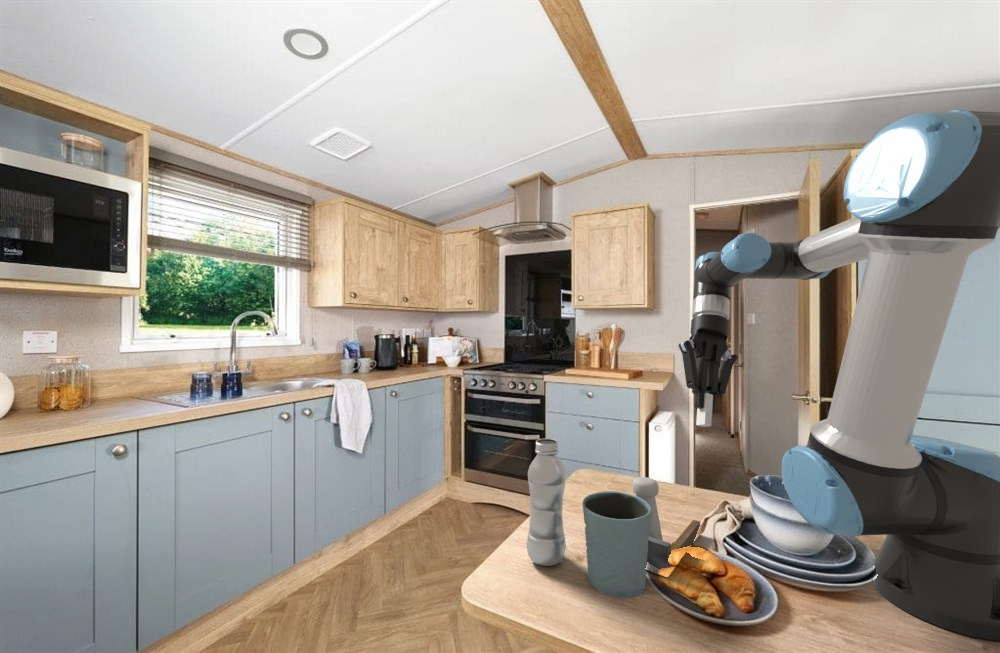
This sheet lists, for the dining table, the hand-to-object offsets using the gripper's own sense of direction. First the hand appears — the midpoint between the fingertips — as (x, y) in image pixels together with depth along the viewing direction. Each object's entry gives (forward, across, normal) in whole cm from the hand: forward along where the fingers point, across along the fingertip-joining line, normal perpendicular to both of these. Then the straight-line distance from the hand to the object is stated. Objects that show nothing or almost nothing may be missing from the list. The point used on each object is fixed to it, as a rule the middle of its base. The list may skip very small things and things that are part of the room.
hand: (703, 425), depth 86 cm
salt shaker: (+26, +12, +4) cm, 29 cm away
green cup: (+30, +20, +10) cm, 37 cm away
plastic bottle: (+30, +29, +2) cm, 42 cm away
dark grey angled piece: (+24, +10, +1) cm, 25 cm away
